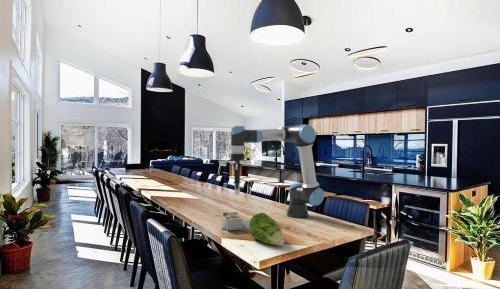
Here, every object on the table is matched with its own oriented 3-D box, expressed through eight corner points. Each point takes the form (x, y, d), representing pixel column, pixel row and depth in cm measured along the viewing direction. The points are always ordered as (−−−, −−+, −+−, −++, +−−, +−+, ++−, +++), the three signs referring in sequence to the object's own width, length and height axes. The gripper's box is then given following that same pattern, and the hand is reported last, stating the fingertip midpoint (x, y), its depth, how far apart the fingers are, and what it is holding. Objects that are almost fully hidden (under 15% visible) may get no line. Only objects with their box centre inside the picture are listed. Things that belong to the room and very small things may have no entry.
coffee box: (227, 219, 173) (222, 212, 188) (227, 230, 173) (222, 222, 188) (242, 218, 175) (236, 211, 191) (242, 229, 175) (236, 221, 191)
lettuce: (271, 259, 146) (272, 234, 142) (244, 236, 164) (245, 214, 161) (292, 249, 153) (294, 226, 150) (265, 228, 172) (266, 207, 168)
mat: (253, 222, 194) (253, 221, 194) (252, 230, 176) (252, 229, 176) (225, 221, 194) (225, 220, 194) (221, 229, 176) (221, 228, 176)
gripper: (232, 152, 177) (231, 192, 177) (229, 153, 164) (229, 196, 164) (244, 152, 176) (244, 192, 177) (243, 153, 163) (242, 197, 164)
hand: (237, 194), depth 170 cm, fingers closed
